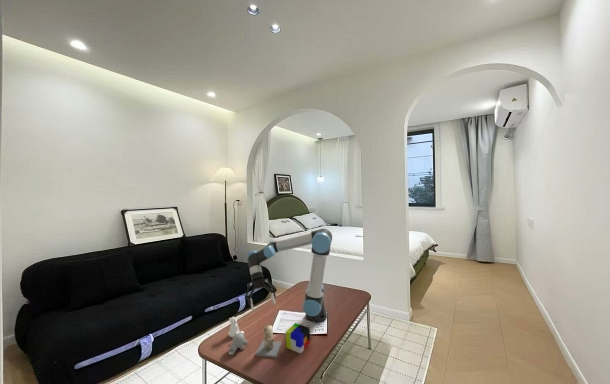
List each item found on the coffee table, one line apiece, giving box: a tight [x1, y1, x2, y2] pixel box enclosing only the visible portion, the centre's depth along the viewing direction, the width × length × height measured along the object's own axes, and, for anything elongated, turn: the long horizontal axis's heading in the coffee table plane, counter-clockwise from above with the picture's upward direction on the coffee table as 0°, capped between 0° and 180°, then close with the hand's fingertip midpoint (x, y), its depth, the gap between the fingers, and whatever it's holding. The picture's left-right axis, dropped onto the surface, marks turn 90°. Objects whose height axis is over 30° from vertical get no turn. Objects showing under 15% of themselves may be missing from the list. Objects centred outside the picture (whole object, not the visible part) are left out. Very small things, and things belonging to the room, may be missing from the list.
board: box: [254, 339, 283, 359], centre depth 151 cm, size 12×12×1 cm
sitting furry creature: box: [228, 316, 245, 339], centre depth 165 cm, size 10×9×12 cm
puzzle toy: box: [285, 322, 311, 354], centre depth 153 cm, size 10×10×10 cm
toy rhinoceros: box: [228, 333, 248, 356], centre depth 151 cm, size 7×12×8 cm, turn 147°
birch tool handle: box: [263, 324, 274, 350], centre depth 150 cm, size 5×5×12 cm
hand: (264, 307), depth 157 cm, fingers open, 13 cm apart
